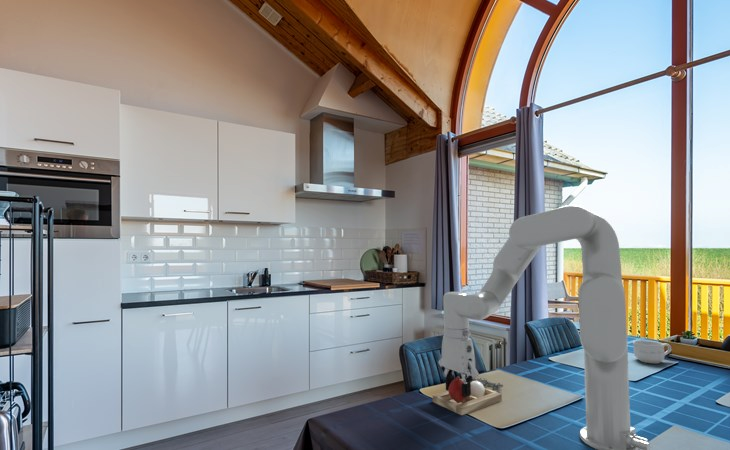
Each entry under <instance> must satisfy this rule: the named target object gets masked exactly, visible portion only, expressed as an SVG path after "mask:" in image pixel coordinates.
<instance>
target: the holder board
mask: <svg viewBox="0 0 730 450" xmlns="http://www.w3.org/2000/svg"><path fill="white" fill-rule="evenodd" d="M492 390H493V389H489V388H487V387H486V388H485V393H484V395H483V396H482V397H479V398H477V397H474V396H472V395H470V396H467V397H466V398H465V399H464V400H463V401H461V403H457V402H456V401H455V400H453V399H452V398H451V396H450V395H449V392H448V391H447V390H445V391H441V392H438V393H434V394H432V403H434V404H436V405H439V406H440V407H443V408H446V409H447V410H449V411H452V412H454V413H456V414H458V415H460V416H464V415H467V414H471V413H472V412H475V411H479V410H480V409H483V408H486V407H489V406H492V405H494V404H497V403H500V402H502V401H503V398H502V397H503V394H502V393H498V392H495V391H492Z"/></svg>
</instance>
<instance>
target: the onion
mask: <svg viewBox="0 0 730 450" xmlns="http://www.w3.org/2000/svg"><path fill="white" fill-rule="evenodd" d="M462 383H463V379H462V378H461V377H460V376H456V377H454V380H453V381H452V382H451V383H450V385H449V388H448V392H449V395H450V396H451V398H452V399H453V400H455V401H456V402H457V403H461V401H463V400H464V399H465V398H466V397H462Z"/></svg>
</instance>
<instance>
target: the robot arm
mask: <svg viewBox="0 0 730 450" xmlns="http://www.w3.org/2000/svg"><path fill="white" fill-rule="evenodd" d="M508 231H509V232H508V234H509V237H508V238H507V240H506V241H505V243H504V244H503V245H502V247H501V248H500V249H499V252H498V253H497V254H496V255H495V257H494V259H493V261H492V263H493V265H492V267H493V268H492V271H491V274H490V276H489V278H488V279H487V281H486V282H485V283H484V285H483V286H482V288H481V289H480V290H479V291H478V292H476V293H472V294H467V293H466V292H463V291H448V292H445V293H444V294H443V297H442V300H443V302H442V303H443V306H442V308H443V336H442V341H441V358H439V360H438V361H437V363H438V364H439V366H440V368H441V371H442V372H443V377H445V391H448V388H449V385H450V383H451V382H452V381H453V380H454V379H455V375H454V372H456V373H458V374H460V375H461V380H462V381H463V383H462V397H467V396H470V395H471V382H472V381H473V380H474V379H477V377H478V376H479V375H480V374H479V372H478V371H479V370H477V368H476V357H475V356H476V355H475V349H474V343H473V339H472V338H471V337H472V332H471V331H470V320H474V321H482V320H483V321H484V319H487V318H488V317H490V316H492V315H493V314H495V313H496V312H497V311H498V310H499V309H500V307H501V306H502V304H503V303H504V301H505V300H506V299H507V297H508V296H509V294H510V293H512V292H511V291H513V289H514V287H515V285H516V284H517V282H519V279H520V278H521V276H522V274H523V273H524V271H525V270H526V269H527V268H528V267H529V265H530V263H531V262H532V261H533V259H534V258H535V256H536V255H537V253H538V252H539V251H540V249H541V248H542V247H543V246H547V245H552V244H557V243H562V242H566V241H571V240H577V241H578V243H580V246H581V247H580V248H581V262H582V263H581V265H582V281H581V283H580V285H579V287H578V297H577V298H578V299H577V301H578V319H579V338H580V345H581V347H582V349H583V351H584V353H583V357H584V359H583V360H584V361H583V363H584V389H585V390H584V393H585V396H584V398H585V400H584V401H585V425H586V426H584V427H582V428H580V431H579V437H580V439H581V441H583V443H584V444H586V445H587V446H589V447H591V448H593V449H595V450H651V445H650V443H649V439H647V438H645V437H642V436H640V435H639V436H638V434H637V433H636V428H635V427H633V426H631V410H630V409H631V407H630V403H631V402H630V385H629V383H630V380H629V379H630V376H629V358H628V357H629V351H628V348H629V347H628V344H629V343H628V341H629V340H628V332H627V331H628V329H627V327H628V325H627V310H626V309H627V308H626V306H627V305H626V304H627V303H626V294H625V293H626V292H625V287H624V284H623V278H622V277H623V276H622V264H621V263H622V262H621V251H620V244H619V243H620V242H619V240H618V236H617V234H616V232H615V229H614V228H613V227H612V225H611V224H610V223H609V222H608V221H607V220H606V219H605V218H604V217H602V216H600V215H599V214H597V213H595V212H593V211H591V210H589V209H587V208H585V207H584V206H582V205H577V204H570V205H564V206H561V207H556V208H552V209H548V210H546V211H541V212H537V213H534V214H529V215H524V216H522V217H519V218H517V219H515V220H514V221H513V222H512V223H511V225H510V227H509V230H508Z"/></svg>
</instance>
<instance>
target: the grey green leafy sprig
mask: <svg viewBox="0 0 730 450" xmlns="http://www.w3.org/2000/svg"><path fill="white" fill-rule="evenodd" d="M473 381H479V382H481V383H482V384H483V386H484V388H487V386H488V387H490V388H491V387H492V388H493V389H491V390H492V391H495V392H498V393H500V394H502V393H501V392H502V387H504V385H503V384H502V383H500V382H493V381H490V380H487V379H486V378H483V379H482V377H480V378H477V377H476V378H475V379H474V380H473Z"/></svg>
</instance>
